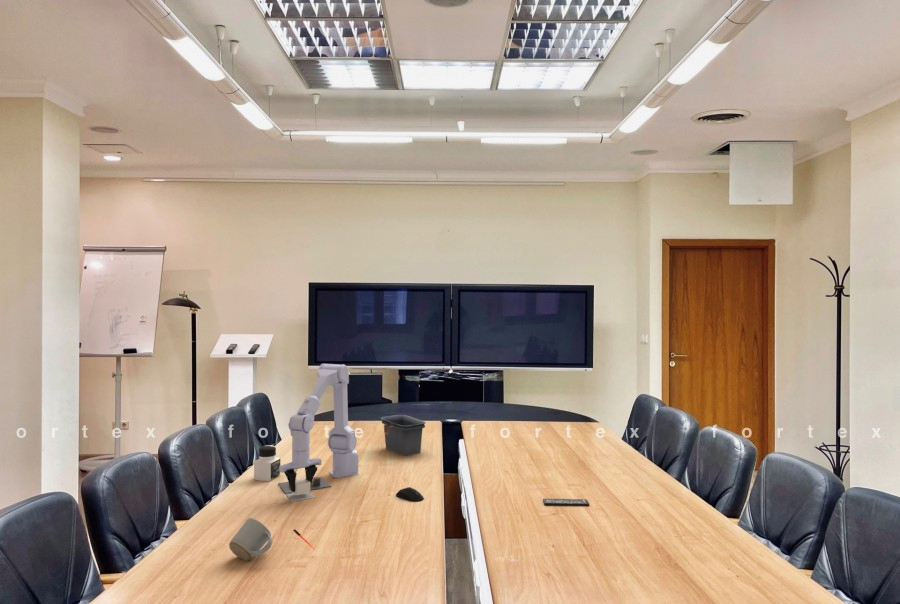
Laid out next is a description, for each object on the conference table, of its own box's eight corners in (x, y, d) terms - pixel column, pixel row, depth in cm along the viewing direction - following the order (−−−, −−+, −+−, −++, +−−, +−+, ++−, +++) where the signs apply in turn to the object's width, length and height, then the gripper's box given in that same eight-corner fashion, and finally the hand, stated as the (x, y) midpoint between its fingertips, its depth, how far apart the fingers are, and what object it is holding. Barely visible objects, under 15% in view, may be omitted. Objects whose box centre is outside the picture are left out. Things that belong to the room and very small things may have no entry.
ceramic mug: (241, 564, 147) (221, 543, 146) (263, 538, 153) (244, 518, 152) (259, 562, 140) (238, 540, 139) (281, 535, 146) (261, 513, 145)
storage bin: (429, 454, 249) (429, 421, 249) (399, 460, 239) (399, 426, 239) (402, 444, 266) (402, 414, 266) (373, 449, 256) (374, 418, 256)
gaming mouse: (419, 509, 184) (419, 497, 184) (391, 497, 194) (391, 486, 194) (434, 504, 188) (434, 492, 188) (406, 493, 199) (406, 482, 199)
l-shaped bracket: (293, 478, 211) (293, 466, 211) (322, 477, 212) (323, 466, 212) (288, 486, 201) (288, 474, 201) (319, 485, 202) (319, 473, 202)
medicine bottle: (271, 481, 210) (271, 449, 210) (253, 480, 211) (253, 448, 211) (280, 476, 217) (280, 444, 217) (263, 474, 218) (263, 443, 218)
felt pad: (309, 491, 199) (309, 490, 199) (315, 498, 192) (315, 497, 192) (285, 495, 195) (286, 494, 195) (291, 502, 188) (291, 501, 188)
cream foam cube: (304, 488, 197) (304, 478, 197) (310, 492, 193) (310, 481, 193) (290, 491, 194) (290, 481, 194) (296, 495, 190) (296, 484, 190)
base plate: (321, 478, 213) (321, 476, 213) (331, 488, 203) (331, 485, 203) (278, 485, 206) (278, 483, 206) (285, 495, 195) (285, 492, 195)
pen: (294, 531, 166) (294, 527, 166) (319, 555, 150) (319, 550, 150) (291, 531, 165) (291, 527, 165) (316, 555, 149) (316, 551, 149)
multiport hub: (542, 505, 188) (542, 498, 188) (586, 506, 187) (586, 499, 187) (544, 510, 184) (544, 502, 184) (589, 511, 183) (589, 503, 183)
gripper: (315, 443, 201) (314, 482, 201) (275, 450, 192) (275, 490, 192) (324, 447, 196) (324, 487, 196) (284, 455, 186) (284, 496, 186)
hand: (300, 489), depth 193 cm, fingers closed on cream foam cube, 5 cm apart
